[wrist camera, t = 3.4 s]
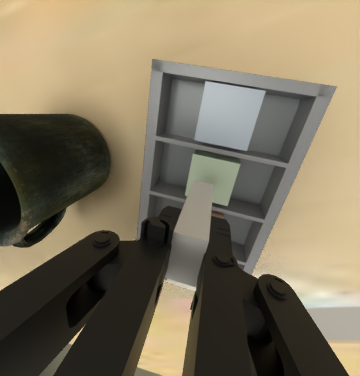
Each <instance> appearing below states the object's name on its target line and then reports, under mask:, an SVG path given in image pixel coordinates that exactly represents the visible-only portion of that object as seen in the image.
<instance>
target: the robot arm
mask: <svg viewBox="0 0 360 376" xmlns="http://www.w3.org/2000/svg"><path fill="white" fill-rule="evenodd" d="M213 187H214V184H210V183H206V182H201V181H197V180H193V183H192V185H191V188H190V191H189V193H188V196H187V198H186V201H185V204H184V206H183V209H180V208H176V207H172V206H167V207H165V208H163V209H162V211H161V212H160V215H159V216H158V217H149V218H147V219H145V220H143V221H142V224H141V234H140V239H139V240H135V241H120V239H119V236H118V235H117V234H116V233H114V232H112V231H104V230H102V231H97V232H94V233H92V234H90V235H88V236H87V237H85V238H84V239H82V240H80V241H79V242H77V243H76V244H74V245H72V246H71V247H69V248H68V249H66V250H65V251H63V252H61V253H60V254H58V255H57V256H55V257H53V258H52V259H50V260H49V261H47V262H45V263H44V264H42V265H41V266H39V267H37V268H36V269H34V270H33V271H31V272H29V273H28V274H26V275H25V276H23V277H21V278H20V279H18V280H17V281H15V282H13V283H12V284H10V285H9V286H7V287H5V288H4V289H2V290H1V291H0V376H39V375H40V374H41V373H42V371H43V370H44V369H45V368H46V367H47V366H48V365H49V364H50V363H51V362H52V360H53V359H54V358H55V357H56V356H57V355H58V354H59V353H60V352H61V351H62V349H63V348H64V347H65V346H66V345H67V344H68V343H69V342H70V341H71V340H72V339H73V337H74V336H75V335H76V334H77V333H78V332H79V331H80V330H81V329H82V328H83V326H84V325H85V324H86V325H85V326H84V328H83V329H82V331H81V332H80V334H79V336H78V337H77V339H76V340H75V342H74V344H73V345H72V347H71V348H70V350H69V352H68V353H67V355H66V356H65V358H64V359H63V361H62V363H61V364H60V366H59V367H58V369H57V371H56V372H55V374H54V375H53V376H134V373H135V370H136V367H137V364H138V361H139V358H140V355H141V352H142V349H143V346H144V343H145V340H146V337H147V333H148V330H149V327H150V324H151V321H152V318H153V315H154V312H155V309H156V306H157V303H158V300H159V296H160V293H161V290H162V286H163V281H164V278H166V279H170V280H173V281H176V282H180V283H183V284H186V285H190V286H193V287H196V291H195V294H194V298H193V301H192V305H191V308H190V309H191V310H192V311H191V318H190V325H189V332H188V339H187V346H186V353H185V360H184V367H183V374H182V376H349V375H348V373H347V372H346V370H345V369H344V367H343V365H342V364H341V362H340V361H339V359H338V358H337V356H336V355H335V353H334V352H333V350H332V349H331V347H330V345H329V344H328V342H327V341H326V339H325V338H324V336H323V335H322V333H321V332H320V330H319V329H318V327H317V326H316V324H315V323H314V321H313V319H312V318H311V316H310V315H309V313H308V312H307V310H306V309H305V307H304V305H303V304H302V302H301V301H300V299H299V298H298V296H297V295H296V293H295V292H294V290H293V289H292V288H291V287H290V286H289V284H287V283H286V282H285V281H283V280H282V279H280V278H278V277H276V276H274V275H270V274H264V275H262V276H260V277H259V279H257V278H256V277H254V276H252V275H250V274H248V273H247V272H245V271H243V270H242V269H241V268H240V267H239V266H238V263H237V260H236V259H235V257H234V256H233V253H232V242H231V232H230V225H229V223H228V222H227V220H226V219H222V218H218V217H214V216H211V210H212V198H213ZM196 284H197V285H196Z"/></svg>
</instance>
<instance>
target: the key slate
mask: <svg viewBox="0 0 360 376" xmlns="http://www.w3.org/2000/svg"><path fill="white" fill-rule="evenodd" d="M265 92H266V91H264V90H257V89H251V88H245V87H239V86H232V85H226V84H220V83H214V82H207V81H206V82H205V87H204V92H203V97H202V102H201V107H200V112H199V118H198V123H197V128H196V133H195V138H194V140H195V141H200V142H205V143H210V144H215V145H219V146H224V147H229V148H234V149H239V150H244V151H247V149H248V146H249V142H250V139H251V136H252V133H253V130H254V127H255V123H256V120H257V117H258V114H259V111H260V108H261V105H262V101H263V98H264V95H265Z"/></svg>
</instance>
